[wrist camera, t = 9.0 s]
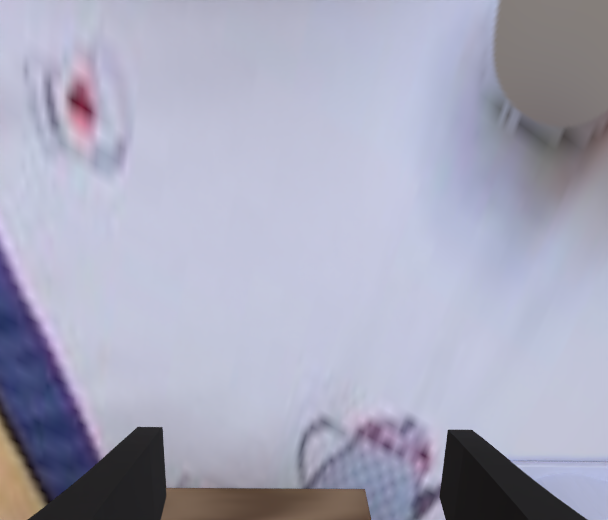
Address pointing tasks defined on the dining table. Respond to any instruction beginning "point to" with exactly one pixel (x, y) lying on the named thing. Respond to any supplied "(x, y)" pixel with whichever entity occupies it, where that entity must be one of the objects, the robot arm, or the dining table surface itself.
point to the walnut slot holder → (265, 504)
